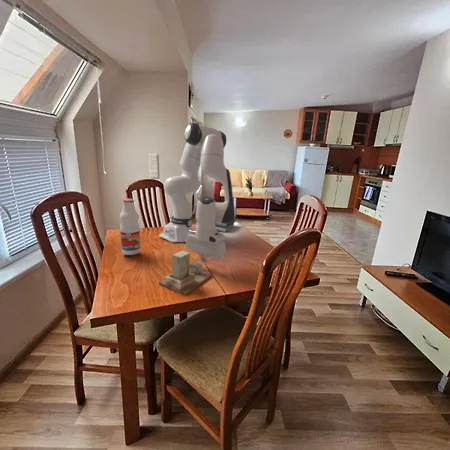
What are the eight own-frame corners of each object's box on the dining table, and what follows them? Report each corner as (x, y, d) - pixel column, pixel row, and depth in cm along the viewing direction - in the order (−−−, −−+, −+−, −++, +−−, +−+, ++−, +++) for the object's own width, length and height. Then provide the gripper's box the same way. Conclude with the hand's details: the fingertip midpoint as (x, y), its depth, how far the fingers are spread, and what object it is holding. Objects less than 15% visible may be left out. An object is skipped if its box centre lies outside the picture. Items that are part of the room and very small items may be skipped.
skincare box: (179, 285, 99) (179, 257, 95) (171, 282, 101) (171, 255, 97) (190, 279, 104) (190, 252, 100) (182, 276, 106) (182, 250, 103)
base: (158, 284, 101) (158, 274, 100) (187, 268, 116) (187, 259, 115) (185, 295, 95) (185, 285, 94) (211, 276, 110) (212, 268, 108)
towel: (206, 229, 175) (206, 218, 172) (217, 223, 191) (217, 213, 189) (226, 233, 169) (226, 222, 167) (235, 226, 186) (236, 216, 183)
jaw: (189, 271, 110) (189, 263, 109) (193, 268, 113) (193, 261, 112) (198, 274, 108) (198, 267, 107) (202, 271, 111) (202, 264, 110)
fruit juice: (143, 248, 135) (140, 198, 127) (137, 255, 126) (135, 201, 118) (125, 248, 135) (122, 197, 127) (119, 255, 126) (115, 200, 118)
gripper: (182, 230, 114) (182, 258, 118) (220, 240, 104) (219, 270, 108) (191, 227, 119) (191, 254, 123) (228, 236, 109) (226, 265, 113)
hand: (204, 261), depth 115 cm, fingers closed
